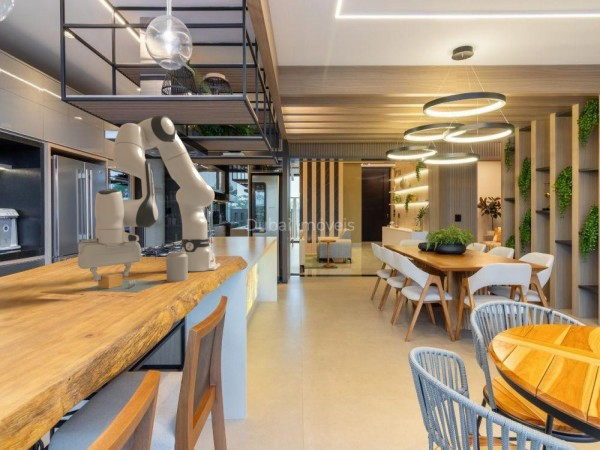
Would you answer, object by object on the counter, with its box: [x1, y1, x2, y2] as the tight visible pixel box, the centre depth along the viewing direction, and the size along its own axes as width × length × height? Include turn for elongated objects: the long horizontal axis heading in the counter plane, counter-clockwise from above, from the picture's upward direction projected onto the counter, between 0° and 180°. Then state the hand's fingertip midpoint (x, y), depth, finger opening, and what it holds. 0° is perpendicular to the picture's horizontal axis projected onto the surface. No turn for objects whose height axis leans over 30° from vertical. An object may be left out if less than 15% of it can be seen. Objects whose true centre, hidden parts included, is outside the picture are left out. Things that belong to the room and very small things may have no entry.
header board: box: [80, 279, 168, 298], centre depth 133 cm, size 19×20×4 cm
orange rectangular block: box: [97, 272, 123, 289], centre depth 130 cm, size 6×4×4 cm
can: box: [165, 250, 189, 283], centre depth 143 cm, size 8×8×12 cm
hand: (111, 278), depth 131 cm, fingers open, 8 cm apart
